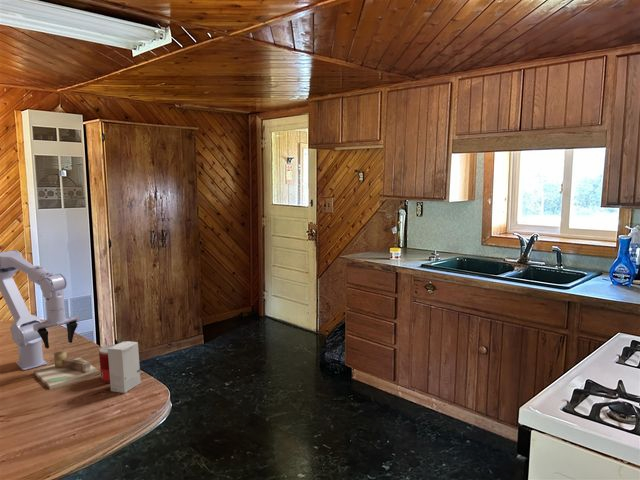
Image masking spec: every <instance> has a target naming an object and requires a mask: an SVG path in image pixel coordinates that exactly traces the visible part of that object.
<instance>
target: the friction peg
mask: <svg viewBox="0 0 640 480" xmlns="http://www.w3.org/2000/svg"><path fill="white" fill-rule="evenodd" d="M67 353H68V352H67V350H65V349H64V350H63V349H62V350H57V351H55V352H54V353H53V356H54V357H53V359H54V364H55V367H56V368H62V367H64V368H69V369H74V370H79V371H83V372H87V371H89V370H91V369H90V364H91V362H90V361H86V362H84V361H79V360H74V359H75V358H68V354H67Z"/></svg>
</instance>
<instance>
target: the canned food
mask: <svg viewBox="0 0 640 480" xmlns="http://www.w3.org/2000/svg"><path fill="white" fill-rule="evenodd" d="M116 344H117V343H116ZM116 344H108V345H107V344H106V345H104V346H102V347H101V348H99V349H98V350H99V351H98V357H99V367H100V370H99V371H100V377H101V378H100V379H101V381H102V382H104V383H109V384H110V372H109V359H108V348H110V347H113V346H115V345H116Z"/></svg>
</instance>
